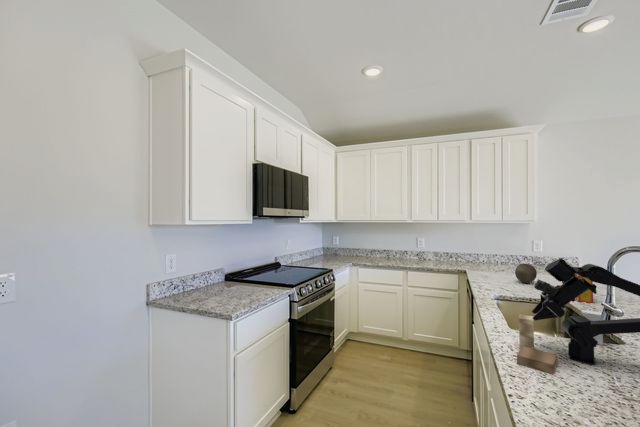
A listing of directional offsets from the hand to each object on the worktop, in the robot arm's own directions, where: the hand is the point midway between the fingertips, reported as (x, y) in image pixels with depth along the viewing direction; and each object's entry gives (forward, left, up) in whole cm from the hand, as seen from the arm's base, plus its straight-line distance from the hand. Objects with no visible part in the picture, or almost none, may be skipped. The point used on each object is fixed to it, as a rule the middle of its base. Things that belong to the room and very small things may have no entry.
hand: (533, 315), depth 113 cm
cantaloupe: (+25, -135, -13) cm, 138 cm away
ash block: (+2, 0, -13) cm, 13 cm away
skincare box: (-16, -25, -13) cm, 32 cm away
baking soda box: (-10, -101, -13) cm, 102 cm away
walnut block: (-3, +12, -13) cm, 18 cm away
